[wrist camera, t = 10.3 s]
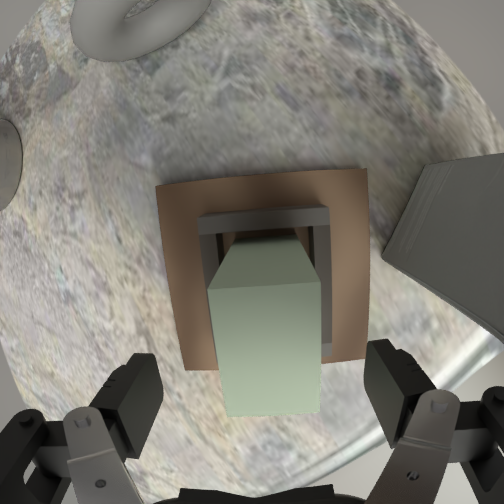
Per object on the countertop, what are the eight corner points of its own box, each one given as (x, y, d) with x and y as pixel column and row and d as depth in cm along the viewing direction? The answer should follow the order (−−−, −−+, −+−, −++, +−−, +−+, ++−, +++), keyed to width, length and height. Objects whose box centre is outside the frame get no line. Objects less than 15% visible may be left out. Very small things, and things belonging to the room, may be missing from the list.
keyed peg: (235, 238, 21) (207, 289, 11) (296, 234, 21) (320, 281, 11) (243, 322, 22) (227, 417, 13) (300, 319, 22) (319, 412, 12)
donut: (123, 86, 20) (46, 44, 11) (105, 58, 20) (32, 11, 10) (234, 14, 19) (215, -68, 9) (211, -12, 18) (184, -91, 9)
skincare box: (435, 291, 23) (565, 400, 7) (369, 251, 22) (505, 364, 7) (481, 201, 21) (636, 237, 6) (419, 152, 21) (592, 137, 5)
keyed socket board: (189, 360, 25) (177, 388, 21) (162, 185, 22) (141, 187, 18) (361, 349, 24) (374, 376, 20) (360, 169, 21) (378, 167, 17)
